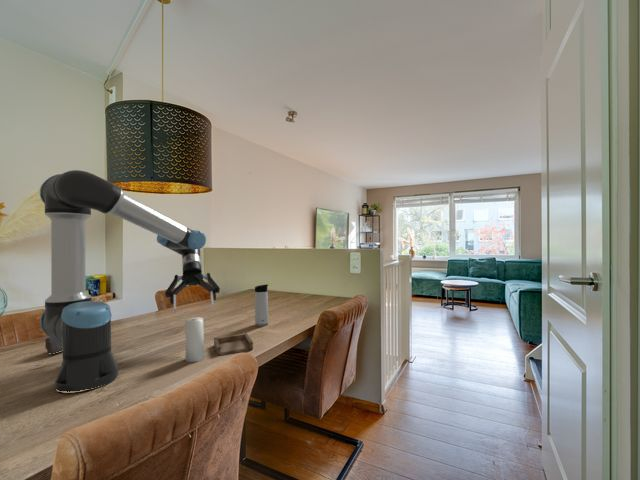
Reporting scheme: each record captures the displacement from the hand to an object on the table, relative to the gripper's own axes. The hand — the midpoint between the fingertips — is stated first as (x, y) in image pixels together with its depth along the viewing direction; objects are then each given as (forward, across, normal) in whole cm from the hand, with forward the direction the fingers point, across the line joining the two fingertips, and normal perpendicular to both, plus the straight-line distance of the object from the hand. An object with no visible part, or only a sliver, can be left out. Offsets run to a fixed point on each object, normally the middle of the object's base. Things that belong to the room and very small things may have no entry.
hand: (194, 308), depth 116 cm
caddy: (+15, -14, -8) cm, 21 cm away
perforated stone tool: (-5, +46, -28) cm, 54 cm away
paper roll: (+18, 0, -4) cm, 19 cm away
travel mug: (-3, -32, -26) cm, 41 cm away
